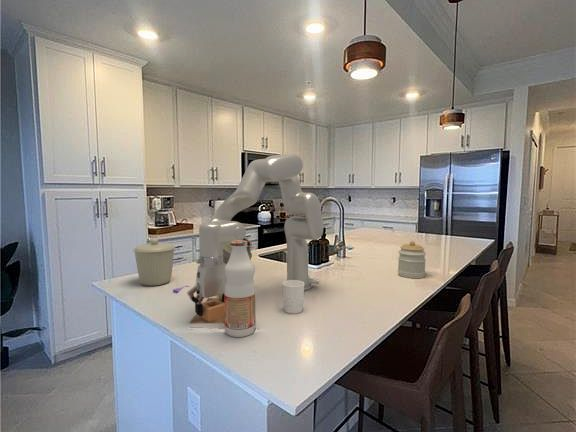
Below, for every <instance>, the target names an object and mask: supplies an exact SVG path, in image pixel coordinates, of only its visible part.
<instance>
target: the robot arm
mask: <svg viewBox="0 0 576 432" xmlns="http://www.w3.org/2000/svg"><path fill="white" fill-rule="evenodd" d="M303 166H304V163H303V159H302V158H301V157H300V155H298V154H296V153H287V154H276V155H275V154H274V155H270V156H267V157H266V158H261V159H254V160H253V161H250V163H249V164H248V166H247V168H246V170H245V172H244V174H243V176H242V178H241V180H240V182H239V183H238V186H237V187H236V189H235V191H234V192H233V193H232V194H231V195H229V196H228V197H227V198H226V199H225V200H224V201H223V202H222V203H221V204H220V205H219V206H218V207H217V209H216V210H215V212H214V213H213V215H212V217H211V220H210V222H204V223H201V224H200V225H199V227H198V236H199V237H198V241H199V242H198V243H199V246H198V247H199V256H198V259H196V262H195V263H196V264H199V265H197V269H196V270H197V271H196V280H195V285H194V286H193V287H191V289H189V290H188V291H187V292H186V294H187V296H188V297H189V300H191V302H193V303H194V306H195V307H194V310H195V315H196V314H197V315H199V316H203V304H201V303H203V302H204V301H203V300H204V299H208V298H214V297H217V295H220V294H223V295H222V296H221V297H222V302H224V303H225V301H224V287H225V283H226V277H225V273H224V270H225V266H226V264H225V263H223V244H224V243H231V242H232V241H235V240H243V239H244V237H245V238H246V234H247V229H246V227H245V226H244V224H243V223H241V222H239V221H235V220H232V219H233V217H235V216H236V215H237V214H238V213H240V212H241V211H243V210H245V209H247V208H249V207H251V206H253V205H255V204H256V203H257V202H258V200H259V199H260V197H261V196H260V195H261V193H262V191H263V190H264V189H263V188H264V187H265V185H266V184H267V183H273V182H275V183H278V185H279V188H280V192H281V197H282V202H283V207H284V210H285V212H286V213H287V214H289V215H292V216H291V217H288V218H287V219H286V220H285V222H284V234H285V239H286V281H288V280H298V281H302V282H304V292H305V291H308V290H311V288H312V286H313V285H312V284H314V285H317V284H319V283H320V282H319V281H320V280H319V278H318V279H316V278H310V275H309V244H308V242H307V240H309V241H310V240H311V241H317V240H319V239H320V238H321V237H322V236H323V234H324V221H323V213H322V208H321V202H320V198H318V196H317V195H316V194H315V193H313V192H303V191H302V186H301V183H300V179H299V175H300V174H301V173H302V171H303ZM294 215H295V216H294ZM195 293H196V296H195Z"/></svg>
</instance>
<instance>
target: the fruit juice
mask: <svg viewBox="0 0 576 432" xmlns="http://www.w3.org/2000/svg"><path fill="white" fill-rule="evenodd" d="M231 247H232V252H231V255H230V258H229V261H228V263H227V264H226V266H225V270H224V273H225V277H226V283H225V287H224V301H225V323H224V332H225V333H226V335H227V336H230V337H233V338H243V337H247V336H250V335H252V334H253V333H254V332H255V331H256V327H257V324H256V322H257V319H256V315H257V313H256V284H255V281H254V275H255V272H256V271H255V265H254V264H253V262H252V259H251V260H250V258H249V255H248V252H247V249H246V247H247V241H245V240H235V241H232V242H231Z"/></svg>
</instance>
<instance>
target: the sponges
mask: <svg viewBox="0 0 576 432" xmlns="http://www.w3.org/2000/svg"><path fill="white" fill-rule="evenodd" d="M184 288H191V286H190V285H183V286H181V287H177V288H173V289H172V292H173V293H174V294H178V293H180V292H181V291H183V289H184Z"/></svg>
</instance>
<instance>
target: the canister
mask: <svg viewBox="0 0 576 432" xmlns="http://www.w3.org/2000/svg"><path fill="white" fill-rule="evenodd" d="M149 240H150V241H149V243H144V244H139V245H138V246H136V247H135V248H133V249H132V251H133V252H134V257H135V263H136V269H137V274H138V279H139V282H140V284H142V285H143V286H148V287H153V286H161V285H165V284H167V283H169V281H171V279H172V273H173V267H174V266H173V265H174V256H175V255H174V253H175V249H176V245H173V244H172V243H169V242H159V239H158V238H157V237H153V238H151V239H149Z"/></svg>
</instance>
